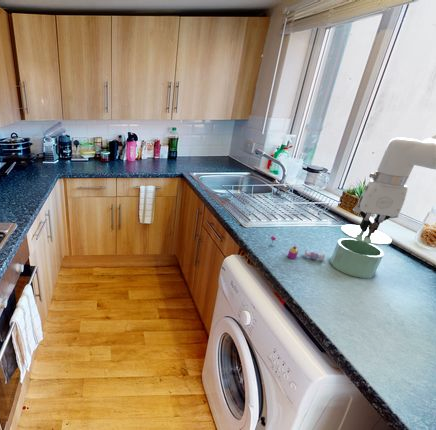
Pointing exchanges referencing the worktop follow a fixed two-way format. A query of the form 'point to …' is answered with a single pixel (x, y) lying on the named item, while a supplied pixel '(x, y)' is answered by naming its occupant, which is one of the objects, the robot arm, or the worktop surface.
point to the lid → (366, 234)
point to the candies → (313, 255)
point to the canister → (356, 258)
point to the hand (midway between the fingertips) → (367, 230)
